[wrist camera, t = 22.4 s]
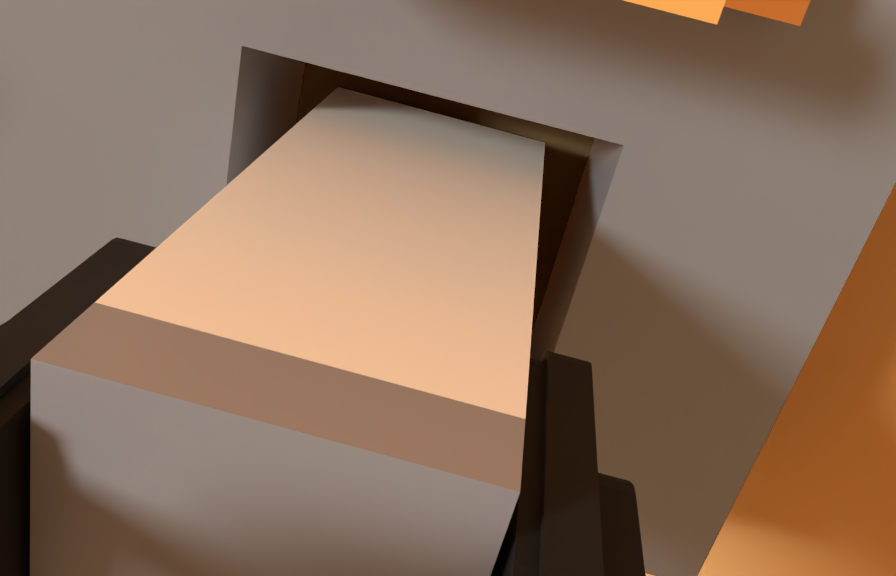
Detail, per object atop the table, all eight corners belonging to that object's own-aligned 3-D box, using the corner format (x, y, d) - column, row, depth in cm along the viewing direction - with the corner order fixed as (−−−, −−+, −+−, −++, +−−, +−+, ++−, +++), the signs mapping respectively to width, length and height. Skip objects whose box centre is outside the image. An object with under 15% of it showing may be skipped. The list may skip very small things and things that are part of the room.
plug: (490, 323, 17) (413, 792, 8) (305, 274, 17) (29, 686, 8) (545, 142, 15) (520, 491, 7) (338, 87, 16) (31, 358, 7)
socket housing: (669, 458, 20) (692, 585, 16) (101, 308, 20) (-1, 400, 16) (1110, -537, 12) (1353, -725, 8) (145, -777, 12) (-37, -1067, 8)
